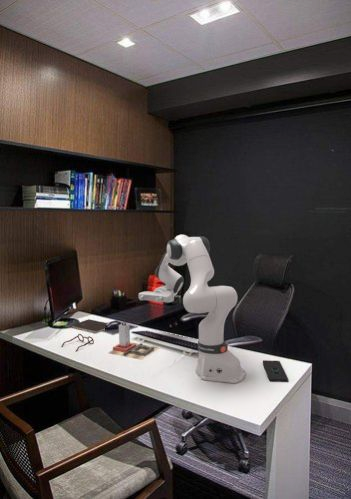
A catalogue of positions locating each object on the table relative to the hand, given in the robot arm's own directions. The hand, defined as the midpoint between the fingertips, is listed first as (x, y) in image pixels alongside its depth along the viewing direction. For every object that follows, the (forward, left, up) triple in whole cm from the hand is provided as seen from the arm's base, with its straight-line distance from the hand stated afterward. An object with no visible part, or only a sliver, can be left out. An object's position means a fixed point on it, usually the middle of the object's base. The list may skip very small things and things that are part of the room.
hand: (148, 299), depth 201 cm
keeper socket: (+6, +15, -23) cm, 29 cm away
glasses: (+35, +20, -26) cm, 48 cm away
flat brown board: (0, +15, -25) cm, 29 cm away
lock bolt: (+6, +15, -23) cm, 29 cm away
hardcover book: (+50, -11, -26) cm, 57 cm away
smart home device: (-71, +7, -26) cm, 76 cm away
